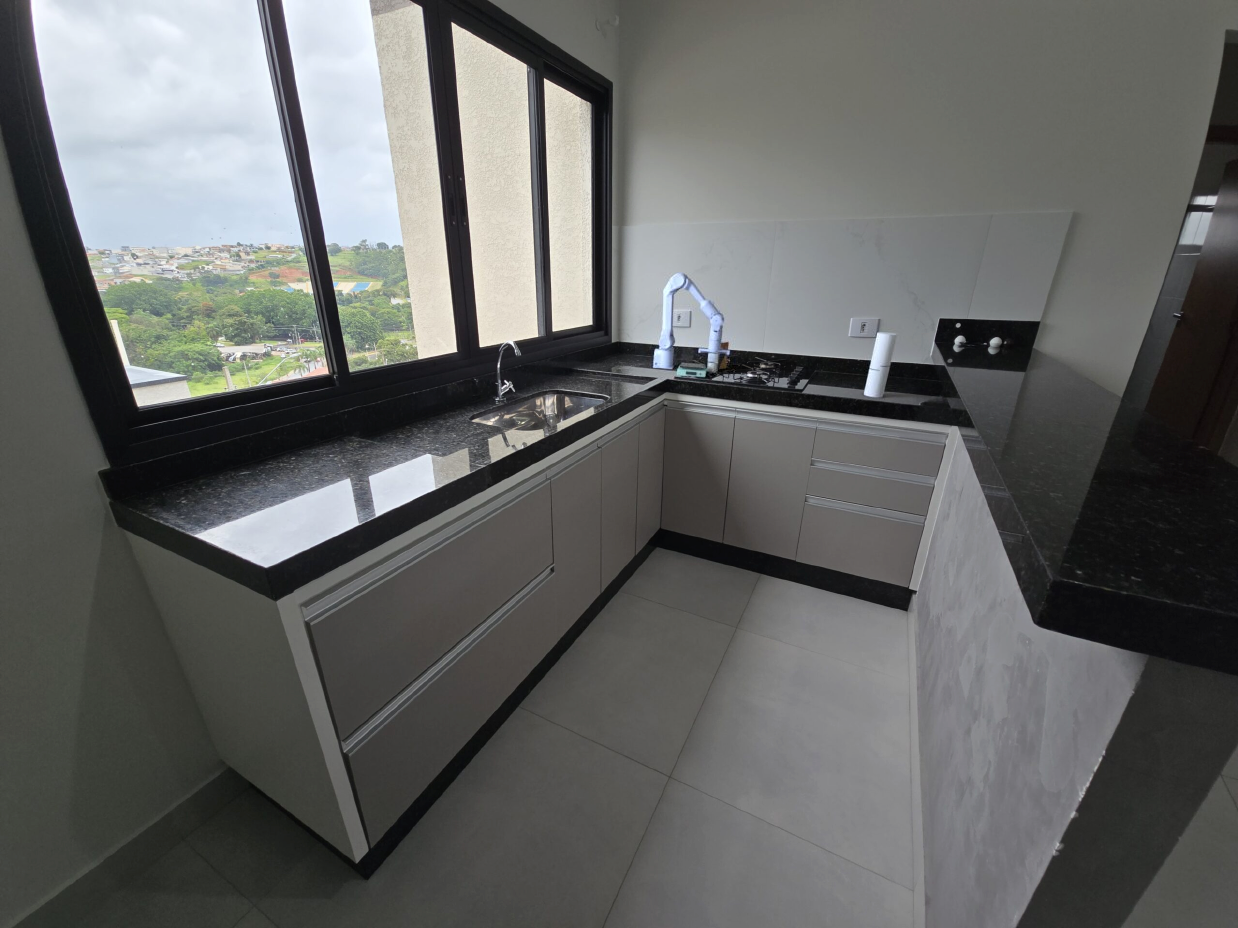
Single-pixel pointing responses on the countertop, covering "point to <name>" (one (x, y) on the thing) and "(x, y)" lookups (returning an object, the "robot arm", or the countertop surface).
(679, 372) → the scale
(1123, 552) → the countertop surface
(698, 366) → the scale pan
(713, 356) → the small box
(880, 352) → the cylindrical container
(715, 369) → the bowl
